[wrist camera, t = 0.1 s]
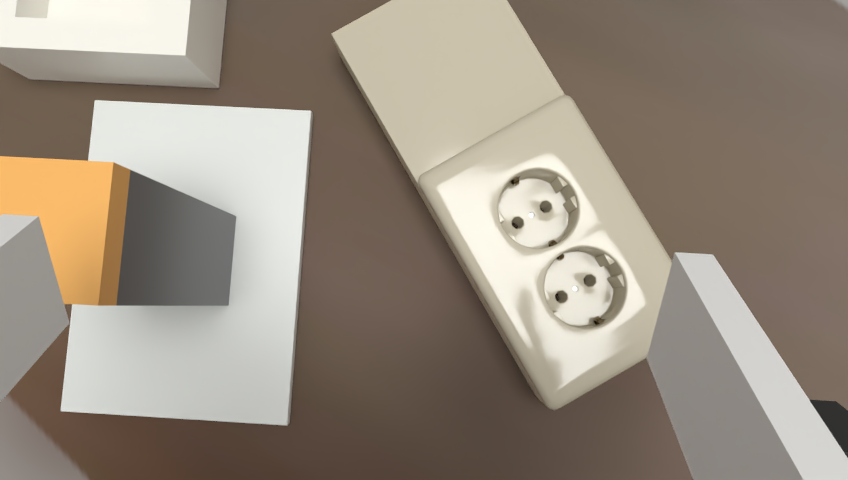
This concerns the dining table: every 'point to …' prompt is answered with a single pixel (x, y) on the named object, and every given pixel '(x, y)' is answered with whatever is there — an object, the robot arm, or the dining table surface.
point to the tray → (250, 278)
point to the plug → (122, 233)
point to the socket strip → (115, 41)
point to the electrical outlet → (514, 187)
